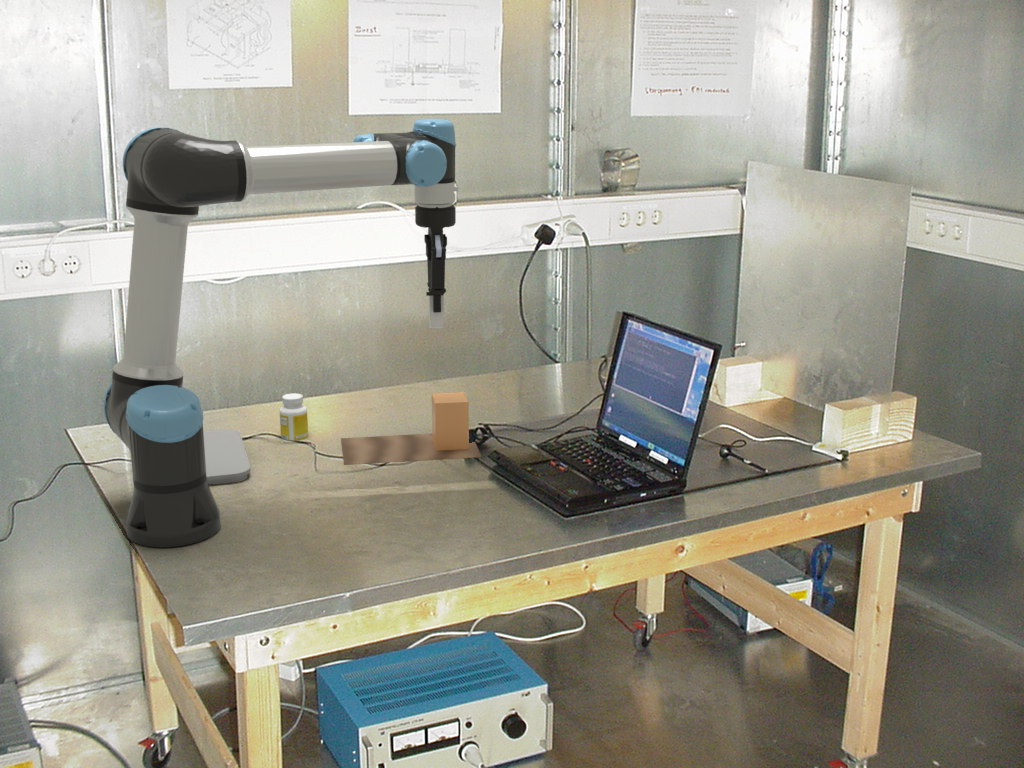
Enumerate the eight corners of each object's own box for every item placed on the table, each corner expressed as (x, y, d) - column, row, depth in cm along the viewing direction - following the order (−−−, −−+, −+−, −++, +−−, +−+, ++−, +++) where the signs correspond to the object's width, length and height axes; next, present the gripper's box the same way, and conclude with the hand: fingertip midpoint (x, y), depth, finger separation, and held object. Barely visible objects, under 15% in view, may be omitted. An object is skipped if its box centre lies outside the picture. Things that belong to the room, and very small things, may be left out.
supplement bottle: (311, 438, 248) (309, 392, 245) (304, 448, 243) (302, 400, 240) (285, 437, 249) (283, 391, 246) (277, 447, 244) (275, 399, 241)
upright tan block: (435, 450, 237) (435, 403, 235) (432, 439, 243) (431, 393, 241) (468, 449, 238) (468, 401, 236) (464, 438, 245) (464, 391, 242)
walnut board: (344, 472, 230) (343, 464, 230) (341, 445, 245) (340, 438, 244) (481, 464, 235) (481, 457, 234) (470, 438, 249) (470, 431, 248)
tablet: (239, 438, 250) (238, 427, 249) (252, 483, 226) (252, 472, 225) (156, 446, 245) (155, 435, 244) (161, 493, 221) (160, 481, 221)
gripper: (459, 209, 223) (459, 335, 230) (451, 199, 236) (452, 318, 242) (417, 210, 222) (419, 336, 229) (412, 199, 235) (414, 320, 241)
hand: (436, 327), depth 236 cm, fingers closed
